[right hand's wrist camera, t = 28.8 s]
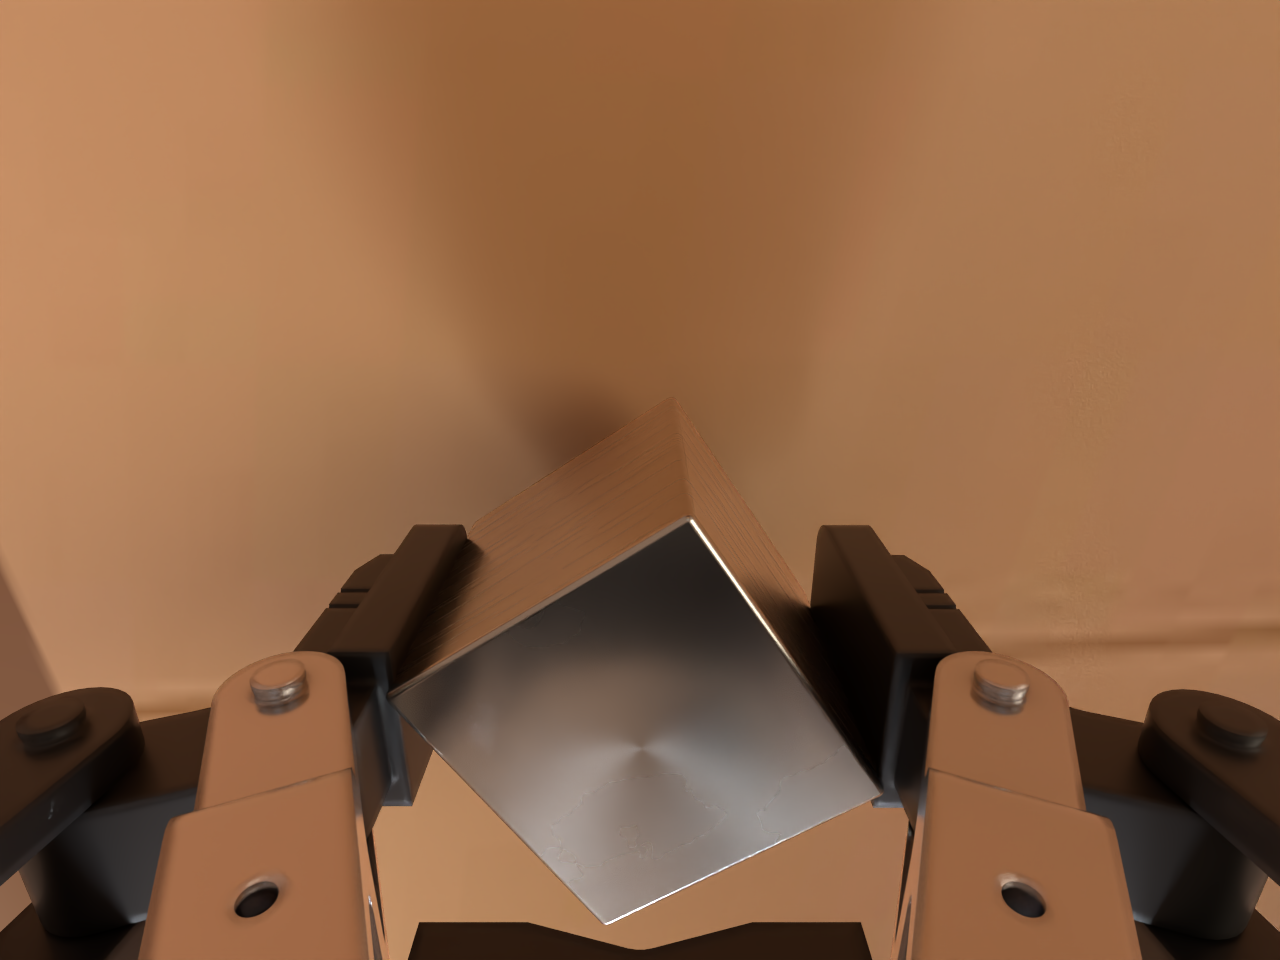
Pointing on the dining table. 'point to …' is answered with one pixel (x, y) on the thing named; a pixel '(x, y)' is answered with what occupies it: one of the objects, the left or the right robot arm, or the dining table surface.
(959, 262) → the dining table surface
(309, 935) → the right robot arm
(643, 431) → the block
